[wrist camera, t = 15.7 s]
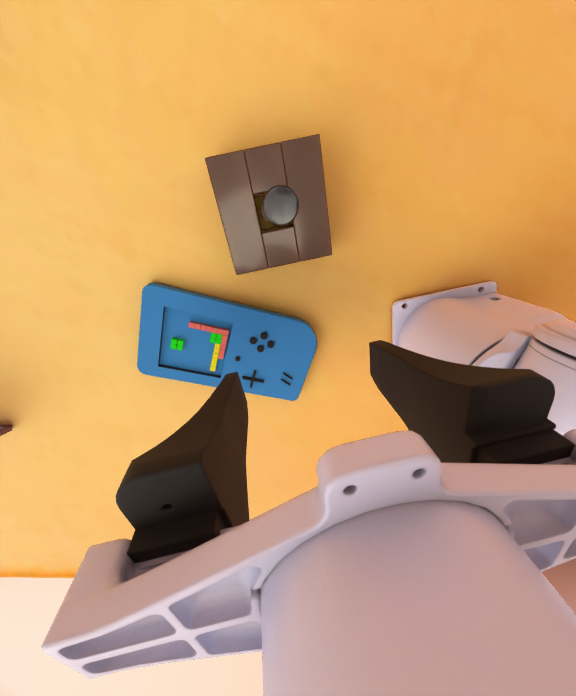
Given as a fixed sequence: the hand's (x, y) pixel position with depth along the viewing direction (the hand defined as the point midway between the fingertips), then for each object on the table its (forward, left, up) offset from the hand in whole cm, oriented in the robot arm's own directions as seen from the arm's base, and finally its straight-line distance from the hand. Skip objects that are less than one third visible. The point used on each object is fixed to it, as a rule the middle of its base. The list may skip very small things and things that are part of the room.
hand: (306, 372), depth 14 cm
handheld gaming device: (+6, +2, -10) cm, 12 cm away
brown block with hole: (0, -8, -10) cm, 13 cm away
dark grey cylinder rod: (0, -8, -10) cm, 13 cm away
